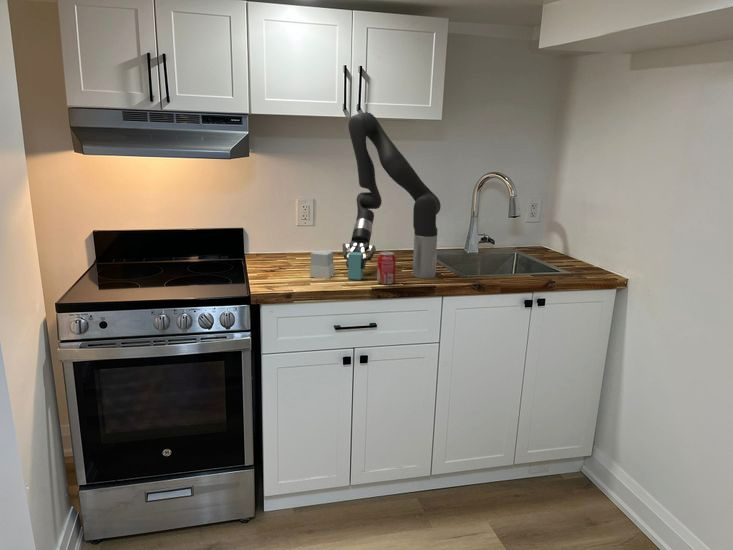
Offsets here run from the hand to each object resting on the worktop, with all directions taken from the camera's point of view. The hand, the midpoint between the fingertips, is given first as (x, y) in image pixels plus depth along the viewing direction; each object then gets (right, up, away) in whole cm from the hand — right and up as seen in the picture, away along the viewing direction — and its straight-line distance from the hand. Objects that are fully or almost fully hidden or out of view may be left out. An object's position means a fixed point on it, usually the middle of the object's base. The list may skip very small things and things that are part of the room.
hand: (354, 267), depth 217 cm
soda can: (+12, -6, -3) cm, 14 cm away
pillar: (0, -4, +3) cm, 5 cm away
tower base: (-13, -4, +6) cm, 15 cm away
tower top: (-13, +1, +5) cm, 14 cm away
